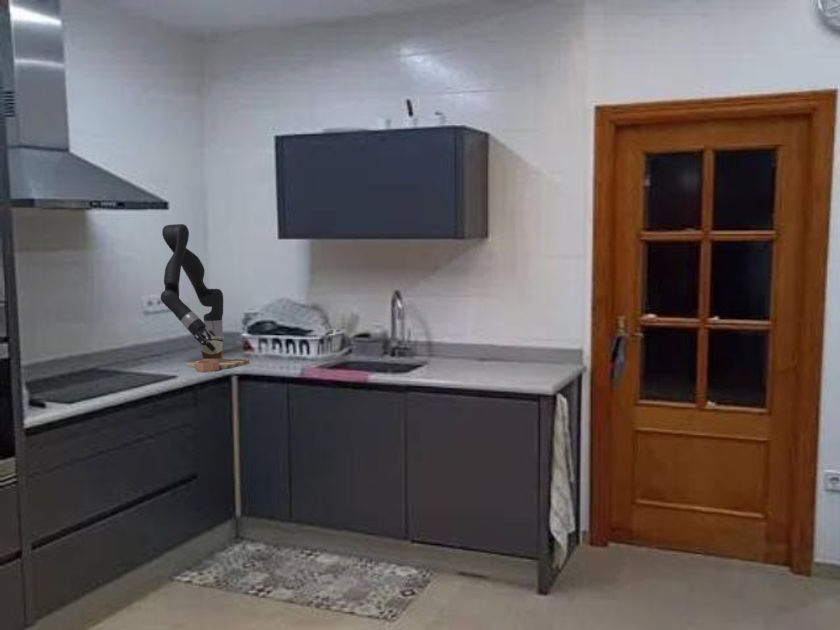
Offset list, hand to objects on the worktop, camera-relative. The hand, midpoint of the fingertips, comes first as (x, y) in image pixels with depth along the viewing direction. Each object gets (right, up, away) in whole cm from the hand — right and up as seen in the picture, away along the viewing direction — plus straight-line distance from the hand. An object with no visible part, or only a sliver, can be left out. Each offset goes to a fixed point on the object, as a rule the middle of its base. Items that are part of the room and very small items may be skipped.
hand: (217, 349), depth 381 cm
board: (0, -7, 0) cm, 7 cm away
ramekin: (-1, -9, -15) cm, 18 cm away
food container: (-2, -5, +1) cm, 5 cm away
